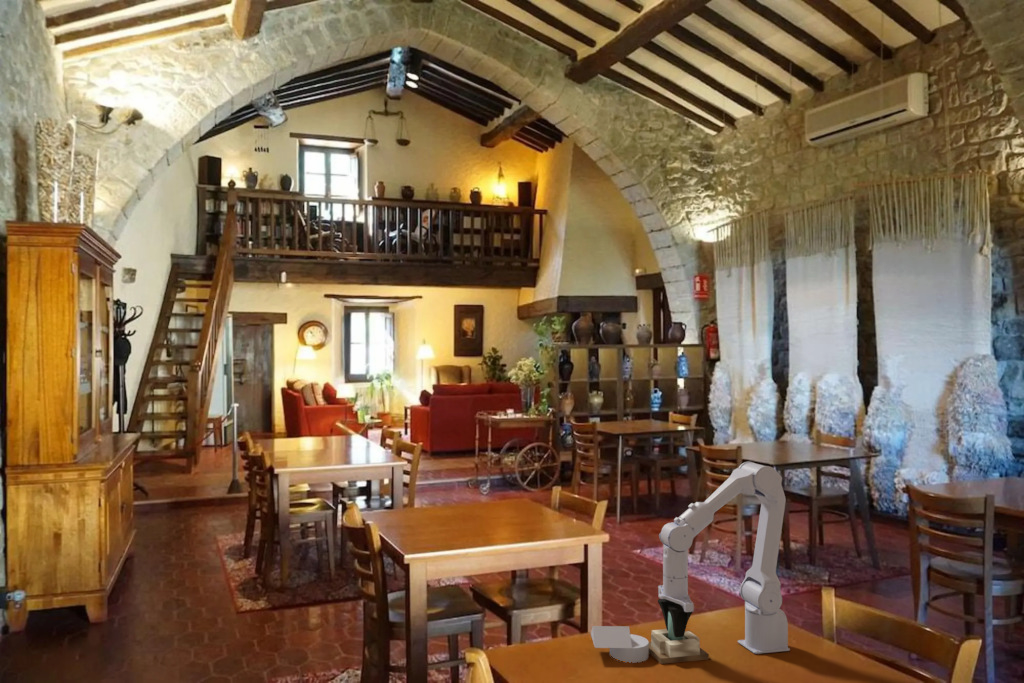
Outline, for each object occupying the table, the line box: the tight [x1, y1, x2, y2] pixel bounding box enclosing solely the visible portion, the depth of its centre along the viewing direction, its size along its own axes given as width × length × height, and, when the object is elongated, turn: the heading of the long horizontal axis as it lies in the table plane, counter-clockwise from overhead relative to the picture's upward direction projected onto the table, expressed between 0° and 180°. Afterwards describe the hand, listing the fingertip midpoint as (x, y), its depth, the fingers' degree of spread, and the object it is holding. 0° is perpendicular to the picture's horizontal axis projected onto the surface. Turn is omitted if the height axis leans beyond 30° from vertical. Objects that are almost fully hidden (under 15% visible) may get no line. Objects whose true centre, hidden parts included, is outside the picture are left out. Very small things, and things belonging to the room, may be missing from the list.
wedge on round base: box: [590, 625, 650, 664], centre depth 179 cm, size 9×7×13 cm
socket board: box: [648, 628, 710, 665], centre depth 180 cm, size 12×10×4 cm
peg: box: [668, 611, 683, 641], centre depth 180 cm, size 4×4×7 cm
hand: (675, 633), depth 180 cm, fingers closed on peg, 3 cm apart
